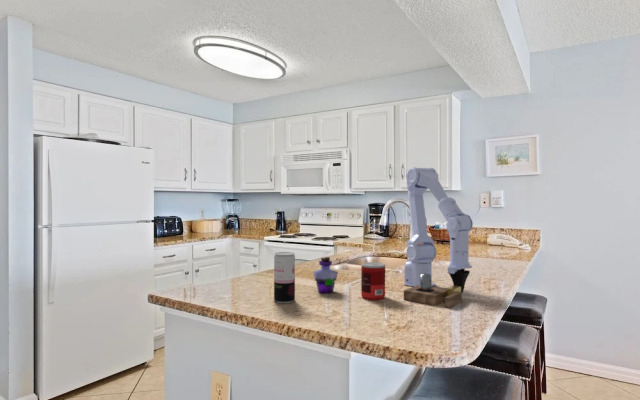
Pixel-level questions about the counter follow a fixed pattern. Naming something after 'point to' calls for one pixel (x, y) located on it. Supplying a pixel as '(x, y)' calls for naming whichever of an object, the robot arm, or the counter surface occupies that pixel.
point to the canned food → (373, 281)
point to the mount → (432, 296)
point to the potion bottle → (325, 276)
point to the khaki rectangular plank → (453, 289)
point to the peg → (425, 282)
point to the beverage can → (284, 277)
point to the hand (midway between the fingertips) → (459, 292)
